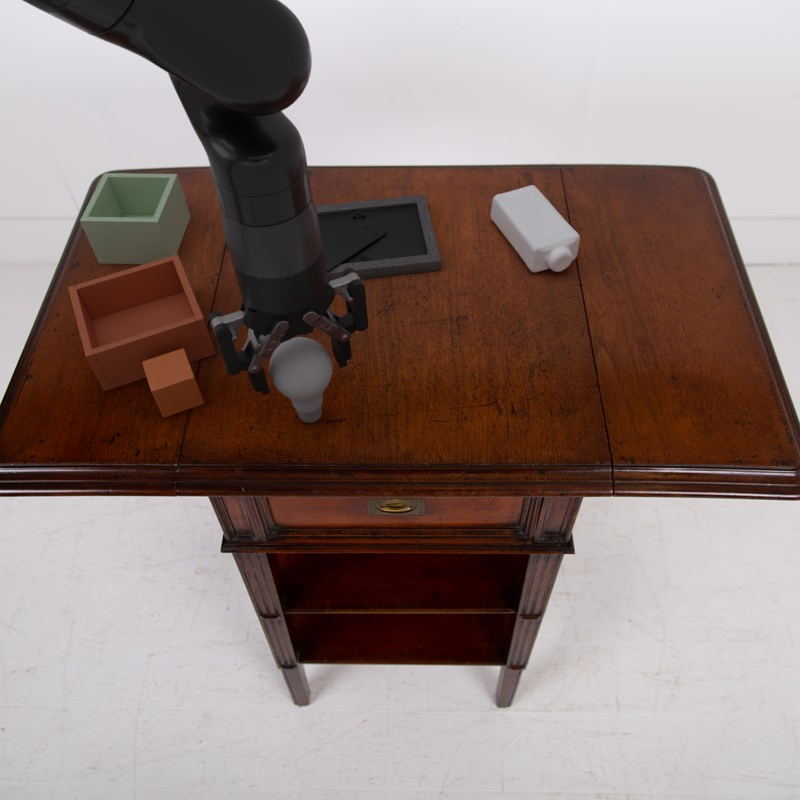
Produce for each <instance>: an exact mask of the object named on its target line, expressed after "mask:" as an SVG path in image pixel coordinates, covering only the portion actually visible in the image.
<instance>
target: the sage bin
mask: <svg viewBox="0 0 800 800" xmlns="http://www.w3.org/2000/svg"><path fill="white" fill-rule="evenodd" d="M190 220H191V214H190V211H189V207H188V205H187V201H186V198H185V195H184V192H183V187H182V185H181V181H180V178H179V175H178V174H177V173H131V172H130V173H129V172H128V173H124V172H122V173H121V172H103V174H102V176H101V178H100V180H99V182H98V185H97V186H96V188H95V189H94V192H93V194H92V196H91V198H90V200H89V201H88V204H87V206H86V208H85V209H84V212H83V213H82V215H81V217H80V219H79V222H80V225H81V227H82V229H83V231H84V234H85V235H86V237H87V240H88V242H89V245H90V246H91V249H92V251H93V253H94V256H95V258H96V260H97V263H98V264H100V265H102V264H103V265H144V264H147V263H150V262H154V261H157V260H160V259H164V258H167V257H170V256H173V255H177V254H178V252H179V249H180V246H181V245H182V241H183V238H184V235H185V233H186V230H187V228H188V226H189V222H190Z"/></svg>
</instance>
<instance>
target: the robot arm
mask: <svg viewBox="0 0 800 800" xmlns="http://www.w3.org/2000/svg"><path fill="white" fill-rule="evenodd" d="M22 1H23V2H24V3H27V4H29V5H30V6H32V7H34V8H36V9H38V10H39V11H42V12H44V13H45V14H48V15H50V16H52V17H54V18H56V19H58V20H60V21H62V22H64V23H65V24H67V25H70V26H72V27H74V28H75V29H78V30H80V31H82V32H84V33H86V34H88V35H90V36H91V37H94V38H97V39H99V40H101V41H104V42H106V43H109V44H112V45H114V46H116V47H119V48H121V49H124V50H126V51H128V52H130V53H133V54H135V55H137V56H140V57H141V58H143V59H145V60H146V61H148V62H150V63H152V64H153V65H155V66H156V67H157V68H159V69H161V70H163V71H164V72H166V73H167V74H168V77H169V79H170V82H171V84H172V86H173V89H174V91H175V92H176V95H177V97H178V99H179V101H180V103H181V105H182V107H183V109H184V112H185V114H186V116H187V118H188V120H189V122H190V125H191V127H192V129H193V130H194V132H195V135H196V136H197V139H198V140H199V142H200V143H201V145H202V147H203V150H204V151H205V154H206V156H207V159H208V163H209V167H210V173H211V177H212V181H213V185H214V188H215V192H216V195H217V199H218V204H219V206H220V212H221V220H222V227H223V234H224V237H225V240H224V241H225V247H226V251H228V253H229V256H230V260H231V263H232V267H233V271H234V275H235V279H236V282H237V285H238V286H237V287H238V289H239V293H240V296H241V304H240V307H239V310H237V311H234V312H231V313H228V314H224V315H223V312H222V311H220V310H214V311H212V312H210V313H209V314H208V320H209V323H210V326H211V329H212V332H213V335H214V338H215V342H216V344H217V347H218V351H219V354H220V356H221V360H222V361H223V364H224V366H225V369H226V371H227V374H228V375H229V376H237V375H239V374H240V373H241V372H246V373H247V376H248V380H249V383H250V384H251V387H252V389H253V391H254V392H255V393H259V392H261V394H262V396H266V395H269V394H271V390H270V386H269V383H268V380H267V376H266V372H265V369H264V364H265V363H266V360H267V359H268V357H269V358H271V357H272V354H273V353H274V351H275V350H276V348H277V347H278V346H279V345H278V344H279V343H280V344H282V343H283V342H285V341H288V340H290V339H292V338H296V337H300V336H304V335H308V334H311V333H314V330H315V329H317V330H319V331H320V332H322V333H323V334H325V335H326V336H328V337H329V338H330V343H331V349H332V354H333V357H334V359H335V361H336V363H337V366H339V368H340V369H342V368H345V367H348V361H350V360H351V359H352V356H353V353H352V346H351V338H352V335H353V334H354V333H355V332H357V331H358V332H364V331H366V330H367V329H368V328H369V316H368V307H367V295H366V287H365V285H364V283H363V282H362V279H360V278H359V276H358V275H357V273H356V272H355V270H354V269H353V268H347V269H345V270H344V271H343V274H342V276H343V277H341V278H338V279H335V280H332V281H329V280H328V278H327V271H326V265H325V258H324V251H323V244H322V237H321V230H320V224H319V217H318V213H317V209H316V206H317V205H316V203H315V200H314V197H313V192H312V188H311V187H312V186H311V181H310V180H311V179H310V174H309V173H310V172H309V167H308V160H307V154H306V153H307V152H306V149H305V145H304V141H303V138H302V136H301V133H300V131H299V129H298V127H297V126H296V125H295V124H294V123H293V122H292V120H290V118H289V117H287V115H286V114H285V113H284V112H283V111H284V110H286V109H288V108H289V107H291V106H292V105H293V104H294V103H295V102H297V101H298V99H299V98H300V97H301V96H302V94H304V91H305V89H306V88H307V86H308V83H309V80H310V77H311V74H312V65H313V64H312V63H313V61H312V60H313V59H312V58H313V57H312V50H311V48H312V47H311V45H310V40H309V37H308V35H307V32H306V30H305V28H304V26H303V24H302V22H301V21H300V20H299V18H298V17H297V15H296V14H295V13H294V12H293V11H292V9H290V8H289V7H288V6H287V5H286V4H285V3H283V2H282V1H280V0H22ZM336 295H339V296H340V298H342V299H343V301H345V306H346V313H345V314H344V315H342V316H341V315H339V314H337V313H336V312H335V311H333V310H332V309H331V308H330V307H331V305H332V304H333V302H334V300H335V298H336ZM243 326H246V328H248V330H247V338H246V340H245V342H244V344H243V346H242V348H241V350H236V347H235V344H234V342H236V341H237V340H238V336H239V334H240V328H241V327H243Z"/></svg>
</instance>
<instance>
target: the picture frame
mask: <svg viewBox="0 0 800 800" xmlns="http://www.w3.org/2000/svg"><path fill="white" fill-rule="evenodd" d="M315 206H316V209H317V213H318V217H319V224H320V230H321V237H322V244H323V251H324V258H325V265H326V271H327V278H328V280H329V281H332V280H335V279H338V278H341V277H343V276H342V274H343V271H344V270H345V269H347V268H353V269H354V270H355V272H356V273H357V275H358V276H359V278H360V280H367V279H377V278H384V277H385V278H386V277H395V276H403V275H404V276H405V275H413V274H420V273H421V274H423V273H430V272H438V271H442V257H441V254H440V250H439V245H438V242H437V238H436V233H435V229H434V224H433V221H432V217H431V213H430V207H429V205H428V200H427V196H426V194H425V193H424V194H415V195H403V196H396V197H386V198H377V199H367V200H359V201H348V202H340V203H339V202H338V203H330V204H321V205H315Z"/></svg>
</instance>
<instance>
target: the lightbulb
mask: <svg viewBox="0 0 800 800" xmlns="http://www.w3.org/2000/svg"><path fill="white" fill-rule="evenodd" d="M268 366H269V367H268V371H269V377H270V380H271V383H272V384H273V385H274V388H276V390H277V391H278V392H279V393H280V394H282V395H283V396H285V397H286V398H288V399H290V401H291V403H292V407H293V408H294V409H295V410H296V413H297V416H298V418H299V419H300V420H301V421H302V422H303V423H308V424H309V423H311V424H312V423H314V422H317V421H318V420H319V419H320V418H321V417H322V415H323V407H322V405H323V401H324V397H323V396H324V395H323V394H324V391H325V390H326V389H327V387H328V386H329V383H330V382H331V380H332V376H333V368H334V367H333V361H332V358H331V355H330V354H329V352H328V350H327V348H325V347H324V345H322V343H320V342H319V341H317V340H315V339H313V338H309V337H304V336H296V337H294V338H292V339H290V340H288V341H285V342H282V343H280V344H279V345H277V347H276V348H275V350H274V352H273V354H272V356H271V357H270V361H269V365H268Z"/></svg>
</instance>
